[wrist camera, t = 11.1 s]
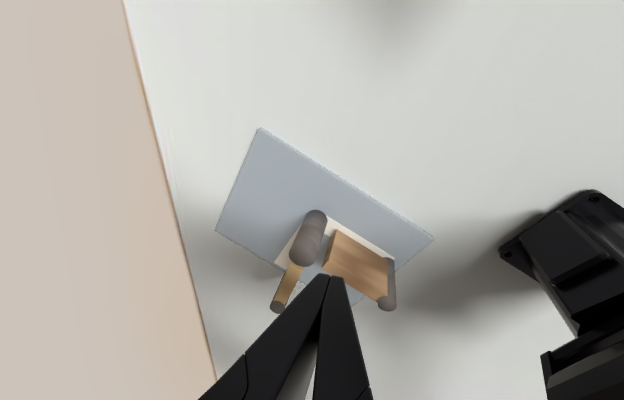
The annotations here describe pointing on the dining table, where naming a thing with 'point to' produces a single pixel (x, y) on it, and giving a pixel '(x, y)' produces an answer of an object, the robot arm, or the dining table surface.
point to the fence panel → (285, 288)
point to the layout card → (307, 210)
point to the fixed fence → (346, 260)
